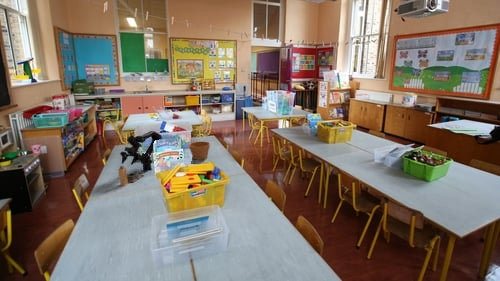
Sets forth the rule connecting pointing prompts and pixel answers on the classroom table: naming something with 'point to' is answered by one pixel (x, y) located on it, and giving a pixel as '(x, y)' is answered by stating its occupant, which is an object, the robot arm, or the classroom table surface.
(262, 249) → the classroom table surface
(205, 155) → the flower pot
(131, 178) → the keeper
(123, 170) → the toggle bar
